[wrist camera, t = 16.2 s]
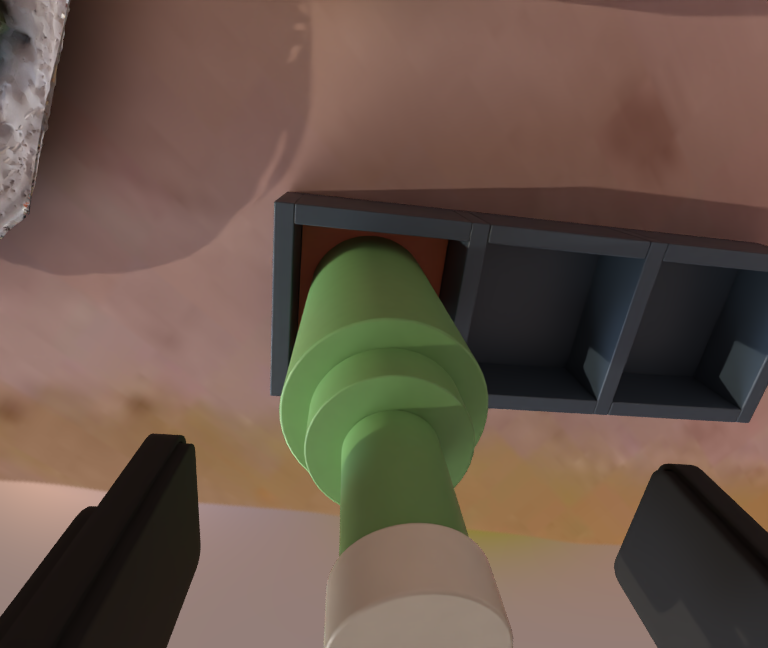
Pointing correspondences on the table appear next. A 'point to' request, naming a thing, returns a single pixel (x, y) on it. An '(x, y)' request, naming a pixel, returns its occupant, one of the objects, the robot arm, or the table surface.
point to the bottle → (391, 452)
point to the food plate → (25, 96)
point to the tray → (559, 305)
